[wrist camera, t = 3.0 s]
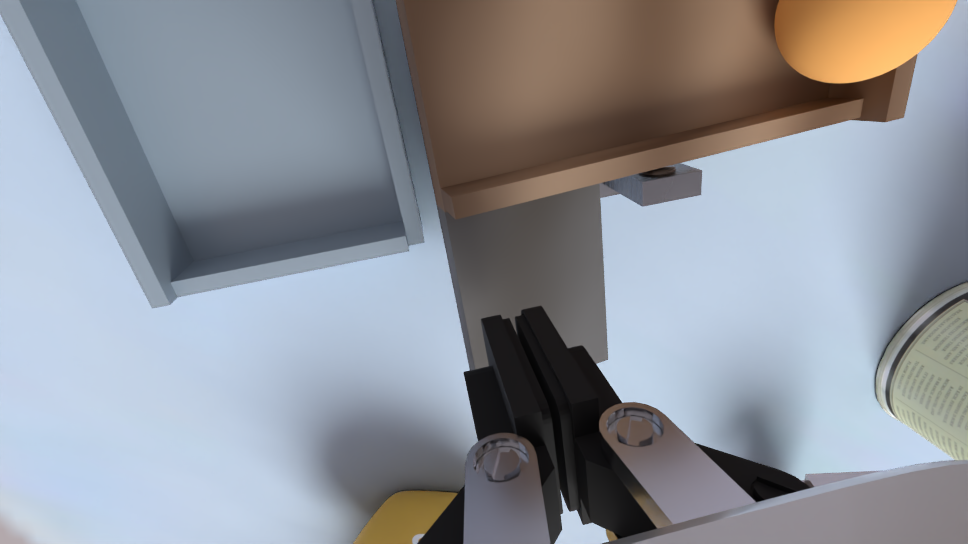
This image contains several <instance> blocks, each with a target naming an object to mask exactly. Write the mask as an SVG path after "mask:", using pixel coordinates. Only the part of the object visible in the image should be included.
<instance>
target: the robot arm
mask: <svg viewBox="0 0 968 544" xmlns="http://www.w3.org/2000/svg"><path fill="white" fill-rule="evenodd" d="M515 324H516V331H517V334H516V331H515V329H514V327H513V325H512V323H511V320H510V318H506V319H502V316H501V315H495V316H491V317H486V318H482V319H481V325H482V331H483V336H484V342H485V348H486V353H487V359H488V364H489V366H488V367H483V368H479V369H475V370H470V371H466V372H464V376H465V381H466V386H467V391H468V396H469V400H470V405H471V410H472V415H473V419H474V424H475V429H476V433H477V438H478V442H477V443H476V444H475V445H474V446H473V447H472V448H471V450H470V451H469V453H468V455H467V459H466V463H465V485H464V487H463V488H462V489H461V490H460V492H459V493H458V494H457V495H456V496H455V498H454V499H453V500H452V501H451V503H450V504H449V505H448V506H447V508H446V509H445V510H444V511H443V512H442V514H441V515H440V516H439V517H438V519H437V520H436V521H435V522H434V523H433V525H432V526H431V527H430V528H429V530H428V531H427V532H426V533H425V535H424V536H423V537H422V538H421V539H420V541H419V542H418V543H417V544H554V543H555V541H556V539H557V538H558V536H559V534H560V532H561V531H562V524H561V516H560V514H563V509H562V500H561V492H562V495H563V498H564V500H565V503H566V505H567V508H568V510H569V511H570V512H571V511H574V510H577V511H578V514H579V516H580V519H581V521H582V523H583V525H585V524H589V523H594V524H597V525H599V526H601V527H603V528H605V529H606V535H607V537H608V539H609V542H606V543H602V544H968V460H949V461H939V462H931V463H923V464H915V465H910V466H905V467H900V468H895V469H890V470H885V471H865V472H843V473H821V474H806V475H805V480H802V481H801V480H799V479H798V478H796V477H795V476H793V475H790V474H788V473H786V472H783V471H781V470H778V469H775V468H772V467H768V466H765V465H762V464H759V463H756V462H753V461H750V460H746V459H743V458H740V457H737V456H734V455H731V454H728V453H724V452H721V451H718V450H715V449H712V448H709V447H706V446H703V445H699V444H696V443H694V442H693V441H692V440H691V439H690V438H689V437H687V436H686V435H685V434H684V433H683V432H682V431H681V430H680V429H679V428H678V427H677V426H676V425H675V424H674V423H673V422H672V421H671V420H670V419H669V418H668V417H667V416H666V415H664V414H663V413H662V412H660V411H659V410H658V409H656V408H654V407H651V406H649V405H646V404H641V403H636V402H630V403H622V402H621V400H620V399H619V397H618V396H617V394H616V393H615V391H614V390H613V388H612V387H611V386H610V384H609V383H608V381H607V380H606V378H605V377H604V375H603V374H602V372H601V371H600V369H599V368H598V366H597V365H596V363H595V362H594V360H593V359H592V357H591V356H590V355H589V353H588V352H587V350H586V349H585V348H584V346H582V345H580V346H575V347H571V348H567V346H566V344H565V343H564V341H563V340H562V338H561V336H560V335H559V333H558V331H557V330H556V328H555V327H554V325H553V323H552V322H551V320H550V318H549V317H548V315H547V313H546V312H545V310H544V309H543V307H542V306H536V307H532V308H527V309H523V310H521V315H520V316H515ZM560 490H561V492H560Z"/></svg>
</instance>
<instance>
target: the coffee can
mask: <svg viewBox="0 0 968 544" xmlns="http://www.w3.org/2000/svg"><path fill="white" fill-rule="evenodd" d="M876 394H877V400H878V402H879V403H880V405H881V407H882V408H883V410H884V411H885V412H886V413H887V414H888V415H890V416H891V417H893V418H894V419H897V420H899V421H900V422H902V423H903V424H905V425H907V426H908V427H909V428H911V429H912V430H914V431H915V432H916V433H918V434H919V435H921V436H922V437H923V438H925V439H926V440H928V441H929V442H930V443H932V444H933V445H935V446H936V447H938V448H939V449H940V450H942V451H943V452H945V453H946V454H947V455H949V456H950V457H952V458H953V459H954V460H968V282H966V283H963V284H960V285H958V286H956V287H953V288H951V289H949V290H947V291H945V292H944V293H942V294H940V295H939V296H937V297H935V298H934V299H933V300H931V301H930V302H929V303H927V304H926V305H924V306H923V307H922V308H921V309H919V310H918V311H917V312H916V313H915V314H914V315H913V316H912V317H911V318H910V319H909V320H908V321H907V322H906V323H905V324H904V325H903V327H902V328H901V329H900V330H899V331H898V333H897V334H896V335H895V337H894V338H893V339H892V341H891V342H890V343H889V345H888V346H887V348H886V351H885V353H884V356H883V358H882V359H881V361H880V364H879V367H878V371H877V376H876Z"/></svg>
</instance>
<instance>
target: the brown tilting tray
mask: <svg viewBox="0 0 968 544" xmlns="http://www.w3.org/2000/svg"><path fill="white" fill-rule="evenodd" d="M778 2H779V0H396V5H397V10H398V15H399V20H400V25H401V30H402V35H403V40H404V45H405V50H406V54H407V59H408V64H409V69H410V74H411V79H412V84H413V89H414V94H415V99H416V104H417V109H418V114H419V119H420V124H421V129H422V134H423V139H424V144H425V149H426V154H427V159H428V164H429V169H430V174H431V179H432V184H433V189H434V194H435V199H436V204H437V209H438V213H439V218H440V223H441V228H442V233H443V238H444V243H445V248H446V253H447V258H448V263H449V268H450V273H451V278H452V283H453V288H454V293H455V298H456V303H457V308H458V313H459V318H460V323H461V328H462V333H463V338H464V343H465V348H466V353H467V358H468V363H469V368H470V370H475V369H479V368H483V367H488V366H489V364H488V359H487V353H486V348H485V342H484V336H483V331H482V325H481V319H482V318H486V317H491V316H495V315H501V316H502V319H506V318H510V320H511V323H512V325H513V327H514V329H515V331H516V324H515V316H520V315H521V310H523V309H527V308H532V307H536V306H542V307H543V309H544V310H545V312H546V313H547V315H548V317H549V318H550V320H551V322H552V323H553V325H554V327H555V328H556V330H557V331H558V333H559V335H560V336H561V338H562V340H563V341H564V343H565V344H566V346H567V348H571V347H575V346H580V345H582V346H584V348H585V349H586V350H587V352H588V353H589V355H590V356H591V357H592V359H593V360H594V362H595V363H596V364H597V363H600V362H602V361H605V360H608V348H607V328H606V307H605V286H604V266H603V245H602V225H601V204H600V184H599V183H603V182H607V181H611V180H615V179H619V178H623V177H627V176H630V175H634V174H638V173H642V172H646V171H650V170H654V169H658V168H662V167H666V166H670V165H674V164H678V163H682V162H686V161H690V160H694V159H698V158H702V157H706V156H710V155H714V154H718V153H721V152H725V151H729V150H733V149H737V148H741V147H745V146H749V145H753V144H757V143H761V142H765V141H769V140H773V139H777V138H781V137H785V136H789V135H793V134H797V133H801V132H805V131H808V130H812V129H816V128H820V127H824V126H828V125H832V124H836V123H840V122H844V121H848V120H860V121H876V122H888V121H892V120H896V119H900V118H904V114H905V109H906V105H907V100H908V96H909V91H910V86H911V82H912V77H913V72H914V68H915V63H916V59H917V54H916V55H915V56H914V57H912V58H911V59H909V60H908V61H906V62H905V63H903V64H902V65H900V66H898V67H897V68H895V69H893V70H891V71H889V72H886V73H884V74H882V75H879V76H876V77H874V78H870V79H867V80H863V81H858V82H852V83H840V84H839V83H825V82H821V81H817V80H813V79H810V78H808V77H806V76H804V75H802V74H800V73H799V72H797V71H796V70H794V69H793V68H792V67H791V66H790V65H789V64H788V63H787V62H786V60H785V59H784V57H783V56H782V54H781V53H780V50H779V48H778V45H777V42H776V37H775V28H774V23H775V13H776V9H777V5H778ZM516 334H517V331H516Z"/></svg>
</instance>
